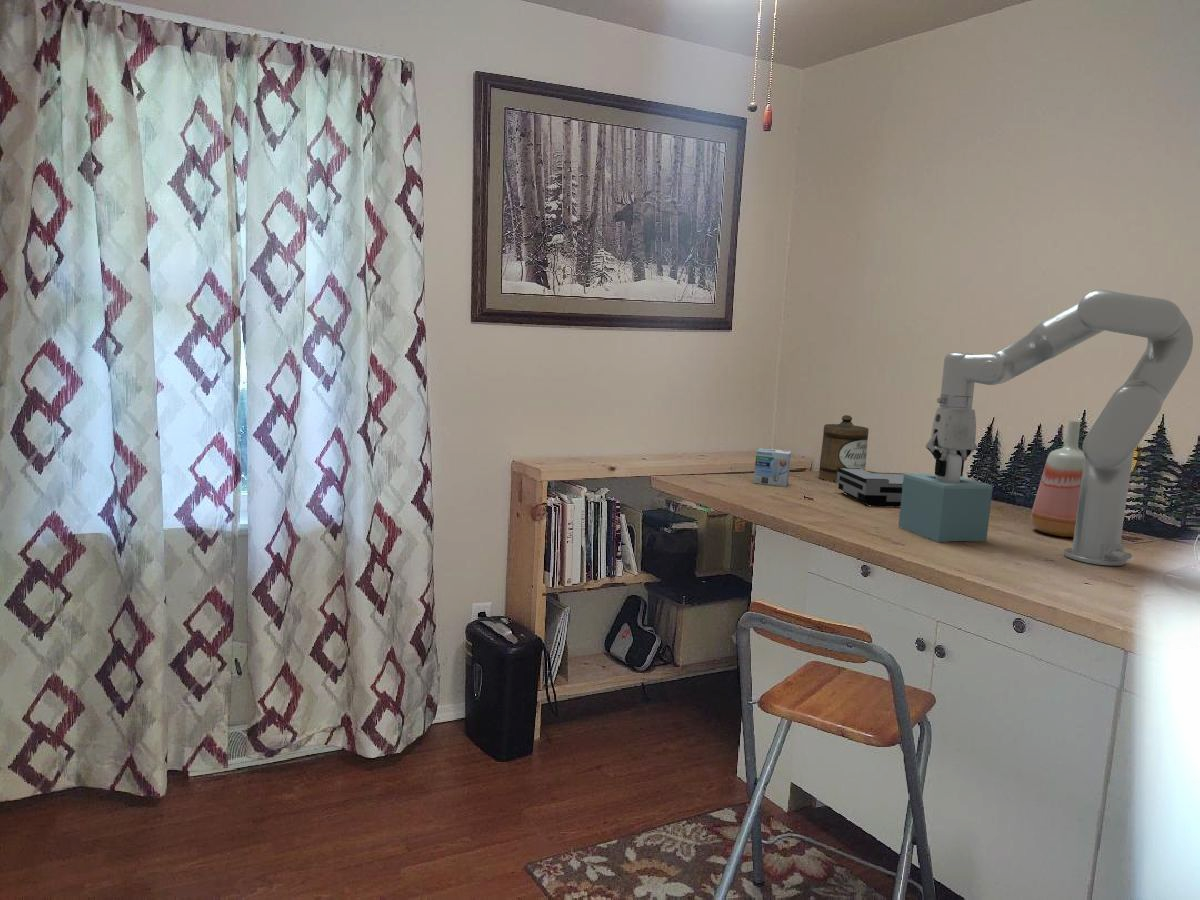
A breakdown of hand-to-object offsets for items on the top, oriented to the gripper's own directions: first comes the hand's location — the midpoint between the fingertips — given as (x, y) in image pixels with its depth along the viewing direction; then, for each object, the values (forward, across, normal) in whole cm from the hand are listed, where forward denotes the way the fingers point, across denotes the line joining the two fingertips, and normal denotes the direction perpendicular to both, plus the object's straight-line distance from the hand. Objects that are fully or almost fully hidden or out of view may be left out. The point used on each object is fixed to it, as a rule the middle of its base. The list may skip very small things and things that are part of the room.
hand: (948, 474), depth 223 cm
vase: (+16, +35, -2) cm, 38 cm away
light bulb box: (+15, -12, +69) cm, 72 cm away
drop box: (+15, 0, 0) cm, 15 cm away
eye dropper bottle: (+3, 0, 0) cm, 3 cm away
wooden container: (+15, +18, +76) cm, 80 cm away
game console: (+16, +16, +42) cm, 47 cm away
